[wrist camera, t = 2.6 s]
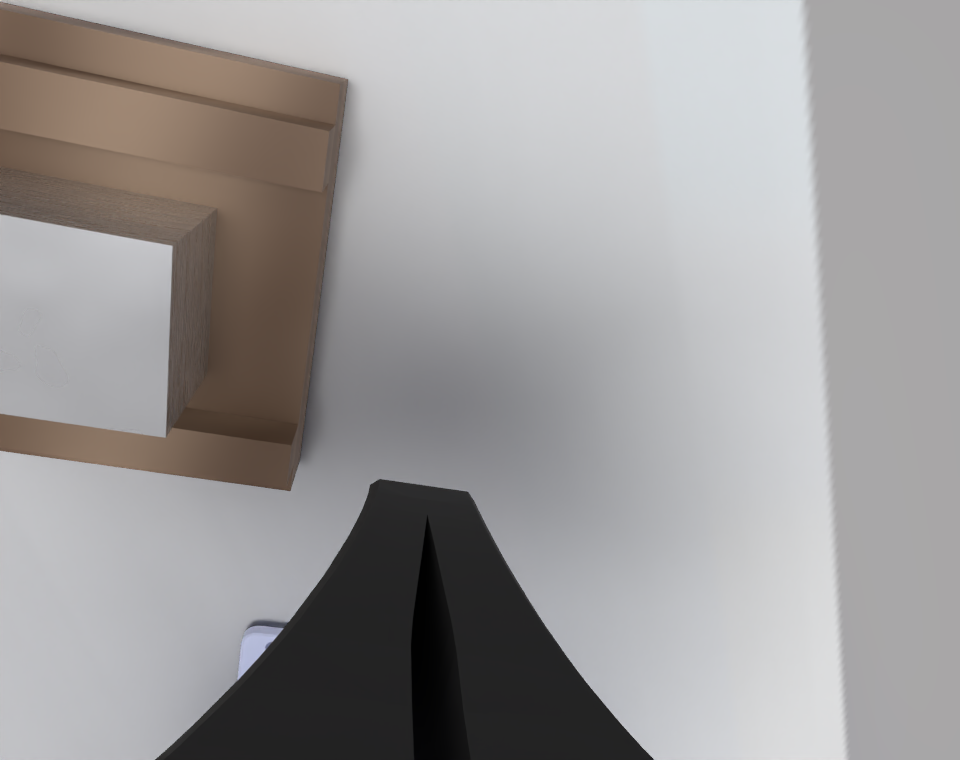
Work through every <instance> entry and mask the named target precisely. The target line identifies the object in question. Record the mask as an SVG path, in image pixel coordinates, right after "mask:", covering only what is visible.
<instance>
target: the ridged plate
mask: <svg viewBox="0 0 960 760" xmlns="http://www.w3.org/2000/svg"><path fill="white" fill-rule="evenodd" d="M347 83H348V79H344V78H340V77H335V76H331V75H326V74H322V73H317V72H313V71H308V70H304V69H299V68H295V67H290V66H286V65H281V64H277V63H272V62H268V61H263V60H259V59H254V58H250V57H245V56H241V55H236V54H232V53H227V52H223V51H218V50H214V49H209V48H205V47H200V46H196V45H191V44H187V43H182V42H178V41H173V40H169V39H164V38H160V37H155V36H151V35H146V34H142V33H137V32H133V31H128V30H124V29H119V28H115V27H110V26H106V25H101V24H97V23H92V22H88V21H83V20H79V19H74V18H70V17H65V16H61V15H56V14H52V13H47V12H43V11H38V10H34V9H29V8H25V7H20V6H16V5H11V4H7V3H2V2H0V167H5V168H10V169H15V170H20V171H26V172H31V173H36V174H41V175H46V176H52V177H57V178H62V179H67V180H73V181H78V182H83V183H88V184H93V185H99V186H104V187H109V188H114V189H120V190H125V191H130V192H135V193H140V194H146V195H151V196H156V197H161V198H166V199H172V200H177V201H182V202H187V203H193V204H198V205H203V206H208V207H213V208H217V218H216V234H215V251H214V267H213V284H212V300H211V317H210V333H209V350H208V366H207V375H206V376H205V378H204V379H203V381H202V382H201V384H200V386H199V387H198V389H197V390H196V392H195V393H194V395H193V396H192V398H191V399H190V401H189V403H188V404H187V406H186V407H185V409H184V410H183V412H182V413H181V415H180V416H179V418H178V420H177V421H176V423H175V424H174V426H173V427H172V429H171V430H170V432H169V434H168V435H167V437H166V438H164V437H157V436H150V435H143V434H136V433H129V432H122V431H116V430H109V429H102V428H95V427H88V426H81V425H74V424H68V423H61V422H54V421H47V420H40V419H33V418H26V417H20V416H13V415H6V414H0V451H6V452H14V453H21V454H28V455H35V456H42V457H50V458H57V459H64V460H71V461H78V462H85V463H93V464H100V465H107V466H114V467H121V468H129V469H136V470H143V471H150V472H157V473H165V474H172V475H179V476H186V477H193V478H201V479H208V480H215V481H222V482H229V483H236V484H244V485H251V486H258V487H265V488H272V489H280V490H287V491H290V490H291V487H292V484H293V480H294V477H295V474H296V471H297V467H298V464H299V461H300V454H301V446H302V438H303V430H304V422H305V414H306V406H307V398H308V391H309V383H310V375H311V367H312V359H313V351H314V343H315V335H316V328H317V320H318V312H319V304H320V296H321V288H322V280H323V272H324V265H325V257H326V249H327V241H328V233H329V225H330V217H331V209H332V202H333V194H334V186H335V178H336V170H337V162H338V154H339V146H340V139H341V131H342V123H343V115H344V107H345V99H346V91H347Z"/></svg>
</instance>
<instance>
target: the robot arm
mask: <svg viewBox="0 0 960 760" xmlns="http://www.w3.org/2000/svg"><path fill="white" fill-rule="evenodd" d="M270 642H272V643H270ZM155 760H654V759H653V758H652V757H651V756H650V755H649V754H648V753H647V752H646V751H645V750H644V749H643V748H642V747H641V746H640V745H639V744H638V742H637V741H636V740H635V739H634V738H633V737H632V736H631V735H630V734H629V732H628V731H627V730H626V729H625V728H624V727H623V726H622V725H621V724H620V722H619V721H618V720H617V719H616V718H615V717H614V715H613V714H612V713H611V712H610V711H609V709H608V708H607V707H606V706H605V705H604V703H603V702H602V701H601V700H600V699H599V697H598V696H597V695H596V694H595V693H594V691H593V690H592V689H591V688H590V687H589V685H588V684H587V683H586V682H585V680H584V679H583V678H582V676H581V675H580V674H579V672H578V671H577V670H576V668H575V667H574V666H573V664H572V663H571V662H570V660H569V659H568V658H567V656H566V655H565V653H564V652H563V651H562V649H561V648H560V646H559V645H558V643H557V642H556V641H555V639H554V638H553V636H552V635H551V633H550V632H549V631H548V629H547V628H546V626H545V625H544V623H543V622H542V620H541V619H540V617H539V615H538V614H537V612H536V611H535V609H534V608H533V606H532V605H531V603H530V601H529V600H528V598H527V596H526V595H525V593H524V592H523V590H522V588H521V587H520V585H519V583H518V582H517V580H516V578H515V577H514V575H513V574H512V572H511V570H510V568H509V567H508V565H507V563H506V561H505V560H504V558H503V556H502V554H501V552H500V551H499V549H498V547H497V545H496V543H495V541H494V540H493V538H492V536H491V534H490V532H489V530H488V528H487V526H486V524H485V522H484V520H483V518H482V516H481V514H480V512H479V510H478V508H477V506H476V504H475V502H474V500H473V499H472V497H471V496H470V494H469V493H468V492H465V491H458V490H451V489H444V488H437V487H430V486H423V485H416V484H410V483H403V482H396V481H389V480H382V479H379V480H378V481H376V482H374V483H373V484H371V485H370V488H369V493H368V496H367V499H366V502H365V504H364V507H363V509H362V511H361V513H360V516H359V518H358V520H357V522H356V523H355V525H354V527H353V529H352V531H351V533H350V535H349V536H348V538H347V540H346V541H345V543H344V544H343V546H342V548H341V549H340V551H339V552H338V554H337V556H336V557H335V559H334V560H333V562H332V564H331V565H330V567H329V568H328V570H327V571H326V573H325V574H324V576H323V577H322V579H321V580H320V581H319V583H318V584H317V585H316V587H315V588H314V589H313V591H312V592H311V593H310V595H309V596H308V597H307V599H306V600H305V601H304V603H303V604H302V605H301V607H300V608H299V609H298V611H297V612H296V613H295V615H294V616H293V617H292V619H291V620H290V621H289V623H288V624H287V625H286V626H285V627H284V628H277V627H268V626H253V627H250V628H248V629H247V630H246V631H245V633H244V635H243V638H242V642H241V649H240V659H239V669H238V679H237V682H236V683H235V684H234V685H233V686H232V687H231V688H230V689H229V690H228V691H227V692H226V693H225V694H224V695H223V696H222V697H221V698H220V699H219V700H218V701H217V702H216V703H215V704H214V705H213V706H212V707H211V708H210V709H209V710H208V711H207V712H206V713H205V714H204V715H203V716H202V717H201V718H200V719H199V720H198V721H197V722H196V723H195V724H194V725H193V726H192V727H191V728H190V729H189V730H187V731H186V732H185V733H184V734H183V735H182V736H181V737H180V738H179V739H178V740H177V741H176V742H175V743H174V744H172V745H171V746H170V747H169V748H168V749H167V750H166V751H165V752H164V753H162V754H161V755H160V756H159V757H158V758H157V759H155Z"/></svg>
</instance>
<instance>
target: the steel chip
mask: <svg viewBox="0 0 960 760" xmlns="http://www.w3.org/2000/svg"><path fill="white" fill-rule="evenodd" d="M216 218H217V208H213V207H208V206H203V205H198V204H193V203H187V202H182V201H177V200H172V199H166V198H161V197H156V196H151V195H146V194H140V193H135V192H130V191H125V190H120V189H114V188H109V187H104V186H99V185H93V184H88V183H83V182H78V181H73V180H67V179H62V178H57V177H52V176H46V175H41V174H36V173H31V172H26V171H20V170H15V169H10V168H5V167H0V414H6V415H13V416H20V417H26V418H33V419H40V420H47V421H54V422H61V423H68V424H74V425H81V426H88V427H95V428H102V429H109V430H116V431H122V432H129V433H136V434H143V435H150V436H157V437H164V438H166V437H167V435H168V434H169V432H170V430H171V429H172V427H173V426H174V424H175V423H176V421H177V420H178V418H179V416H180V415H181V413H182V412H183V410H184V409H185V407H186V406H187V404H188V403H189V401H190V399H191V398H192V396H193V395H194V393H195V392H196V390H197V389H198V387H199V386H200V384H201V382H202V381H203V379H204V378H205V376H206V375H207V366H208V350H209V333H210V317H211V300H212V284H213V267H214V251H215V234H216Z"/></svg>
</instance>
